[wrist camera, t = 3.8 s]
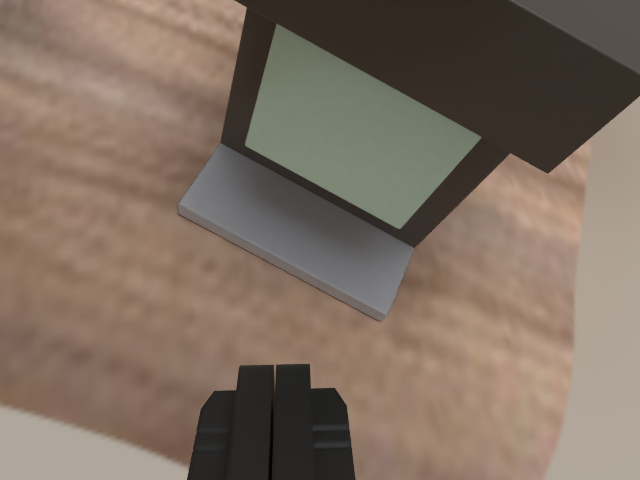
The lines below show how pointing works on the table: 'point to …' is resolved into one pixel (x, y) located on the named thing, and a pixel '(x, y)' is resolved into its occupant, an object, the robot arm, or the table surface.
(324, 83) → the push plate
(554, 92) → the box
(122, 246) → the table surface
